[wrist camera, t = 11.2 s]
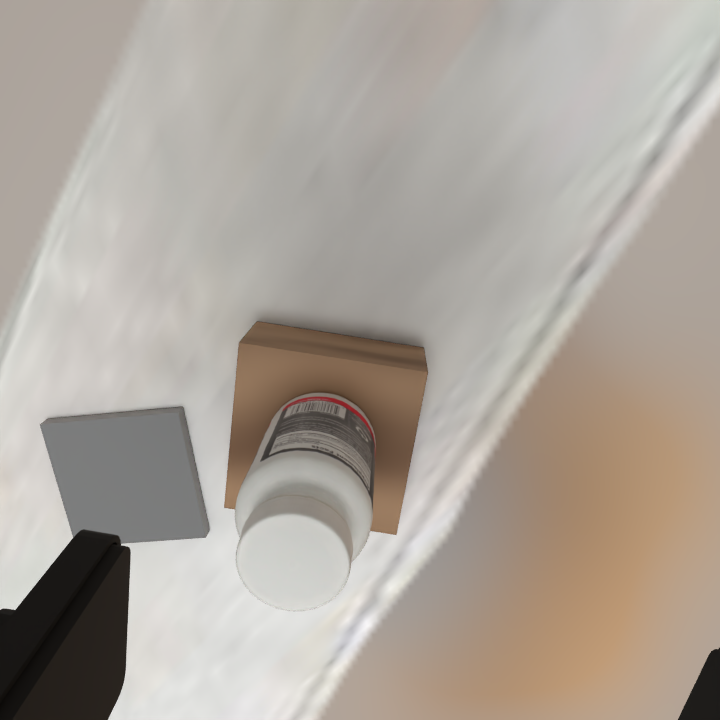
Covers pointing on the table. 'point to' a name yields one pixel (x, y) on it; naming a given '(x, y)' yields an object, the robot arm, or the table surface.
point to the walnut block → (334, 376)
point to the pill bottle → (306, 502)
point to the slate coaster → (128, 474)
